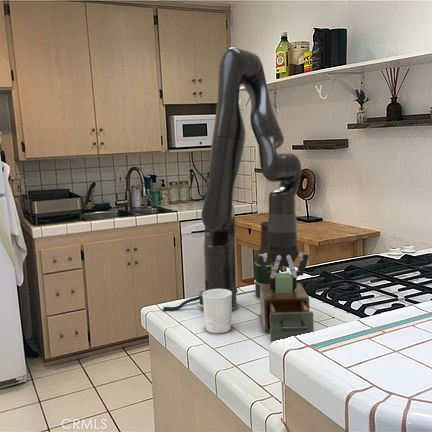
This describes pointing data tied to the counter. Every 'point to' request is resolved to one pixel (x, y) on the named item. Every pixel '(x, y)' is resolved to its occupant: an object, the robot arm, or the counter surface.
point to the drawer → (289, 319)
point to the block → (283, 283)
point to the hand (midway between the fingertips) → (283, 290)
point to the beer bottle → (258, 270)
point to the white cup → (217, 310)
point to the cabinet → (279, 300)
